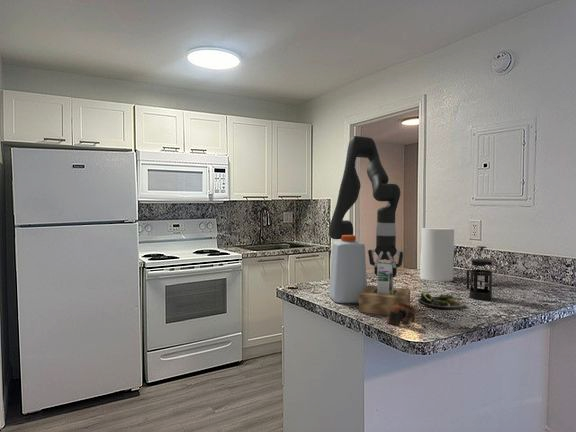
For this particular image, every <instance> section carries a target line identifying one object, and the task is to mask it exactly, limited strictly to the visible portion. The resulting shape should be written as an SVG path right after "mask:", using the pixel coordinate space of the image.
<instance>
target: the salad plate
mask: <svg viewBox="0 0 576 432" xmlns="http://www.w3.org/2000/svg"><path fill="white" fill-rule="evenodd" d="M416 297H417V301H418V303H419V304H421V306H425V307H426V308H430V309H435V310H454V309H456V310H457V309H461V308H463V307H465V306H466V303H465V302H462V300H463V298H462V297H461V298H460V297H455V296H454V295H453V294H452V295H449V294H440V295H439V296H438V295H437V296H433V295H431V294H430V293H428V292H426V291H423V292H422V293H421V294H420V295H417V296H416ZM452 305H453V306H452Z"/></svg>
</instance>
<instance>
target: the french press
mask: <svg viewBox="0 0 576 432" xmlns="http://www.w3.org/2000/svg"><path fill="white" fill-rule="evenodd" d="M477 248H478V249H480V253H481V254H480V255H481V256H480V258H472V259H471V258H470V261H471V264H470V265H472V266H475V267H480V269H467V270H466V290H469V295H468V297H469V298H470V299H472V300H476V299H477V300H476V301H485V300H487V301H492V300H493V289H492V288H493V287H492V286H493V284H492V283H493V282H492V281H493V275H494V274H493V271H492V270H489V269H488V270H487V269H482V267H485V266H487V265H488V266H492V263H494V261H493V260H492V259H486V258H483V251H484V249H487V248H488V247H487V246H484V245H483V246H481V245H480V246H479V245H478V246H476V249H477ZM479 276H480V281H479V280H478V279H479V278H478V277H479ZM482 277H484V278H483V279H484V280H483V281H482ZM478 287H479V288H478ZM481 287H483V288H481ZM491 299H492V300H491Z"/></svg>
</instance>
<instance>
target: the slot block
mask: <svg viewBox="0 0 576 432" xmlns="http://www.w3.org/2000/svg"><path fill="white" fill-rule="evenodd" d="M395 302H400V303H404V304H407V305H409V306H411V288H402V287H401V288H400V287H393V295H392V294H381V293H377V285H368V284H367V287H366V288H365V289H364V290H363V291H362V292H361V293H360V294H359V303H358V313H363V312H364V314H372V313H373V314H375V315H380V316H381V315H382V316H390V308H391V307H392V306H393V305H394V303H395Z"/></svg>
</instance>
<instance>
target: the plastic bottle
mask: <svg viewBox="0 0 576 432" xmlns="http://www.w3.org/2000/svg"><path fill="white" fill-rule="evenodd" d="M341 240H342V241H341ZM367 275H368V274H367V262H366V245H365V243H363V242H361V241H358V240H357V238H356V235H355V234H353V235H342V236H341V239H340V240H338V241H337V240H335V241H333V242H332V247H331V260H330V275H329V286H328V296H329V298H330V299H331V300H333V301H334V302H335V303H337V304H359V294H360V293H361V292H362V291H363V290H364V289H365V288H366V287H367V286H368V280H367V279H368V277H367Z"/></svg>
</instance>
